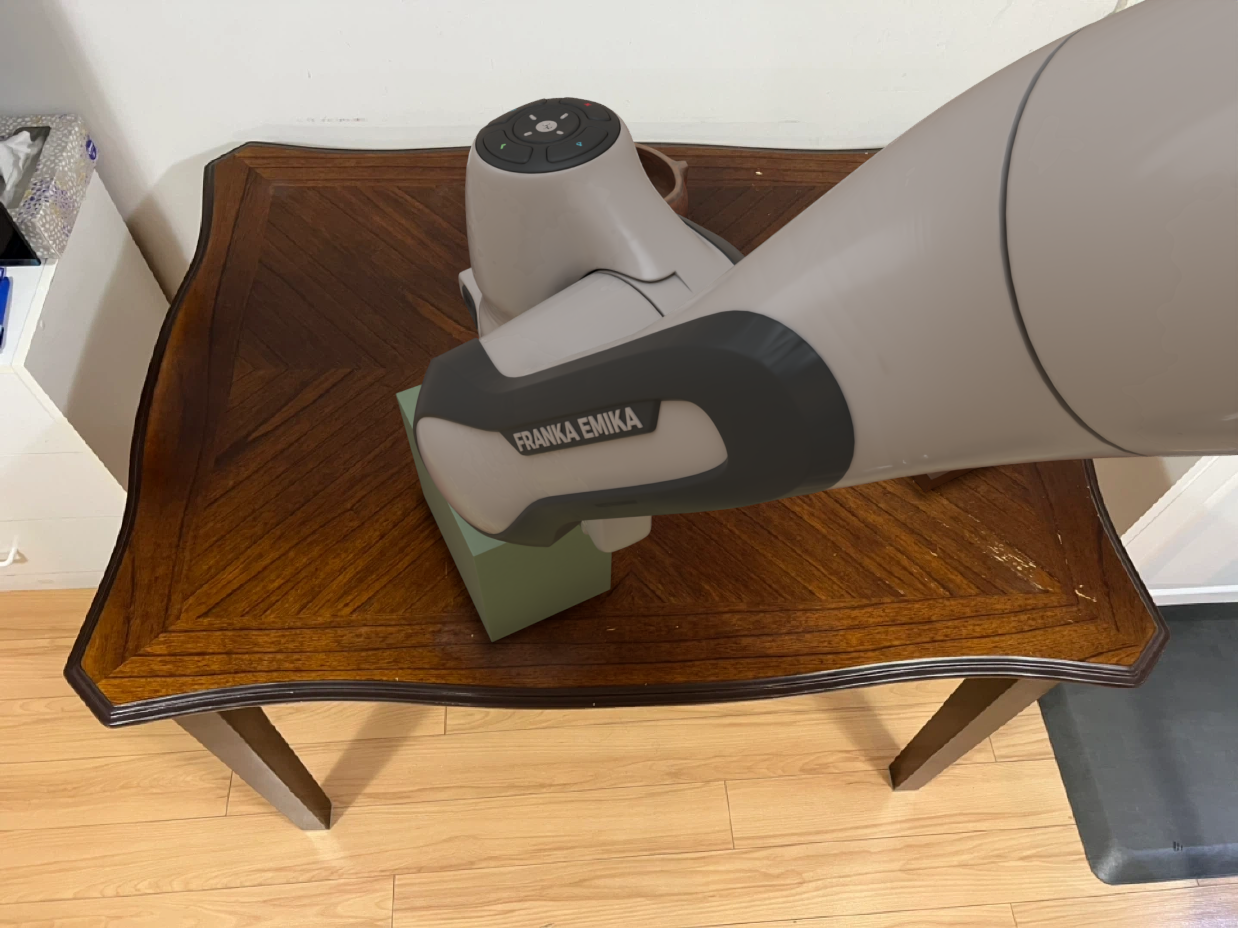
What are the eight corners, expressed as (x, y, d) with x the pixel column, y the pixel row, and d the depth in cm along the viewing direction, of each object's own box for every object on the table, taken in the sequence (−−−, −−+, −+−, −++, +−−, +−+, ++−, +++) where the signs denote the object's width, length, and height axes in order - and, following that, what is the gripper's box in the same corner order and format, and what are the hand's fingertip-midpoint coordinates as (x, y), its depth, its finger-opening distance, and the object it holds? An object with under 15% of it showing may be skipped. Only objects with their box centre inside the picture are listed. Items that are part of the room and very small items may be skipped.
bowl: (706, 220, 107) (716, 147, 99) (647, 311, 100) (652, 240, 91) (584, 177, 111) (583, 102, 103) (517, 262, 103) (510, 189, 95)
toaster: (610, 589, 82) (614, 497, 69) (491, 642, 79) (472, 556, 66) (534, 451, 89) (525, 345, 77) (423, 495, 86) (395, 392, 74)
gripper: (685, 456, 53) (669, 570, 65) (536, 228, 63) (544, 362, 75) (584, 499, 52) (585, 608, 63) (447, 257, 62) (469, 389, 73)
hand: (562, 473), depth 69 cm, fingers open, 8 cm apart
